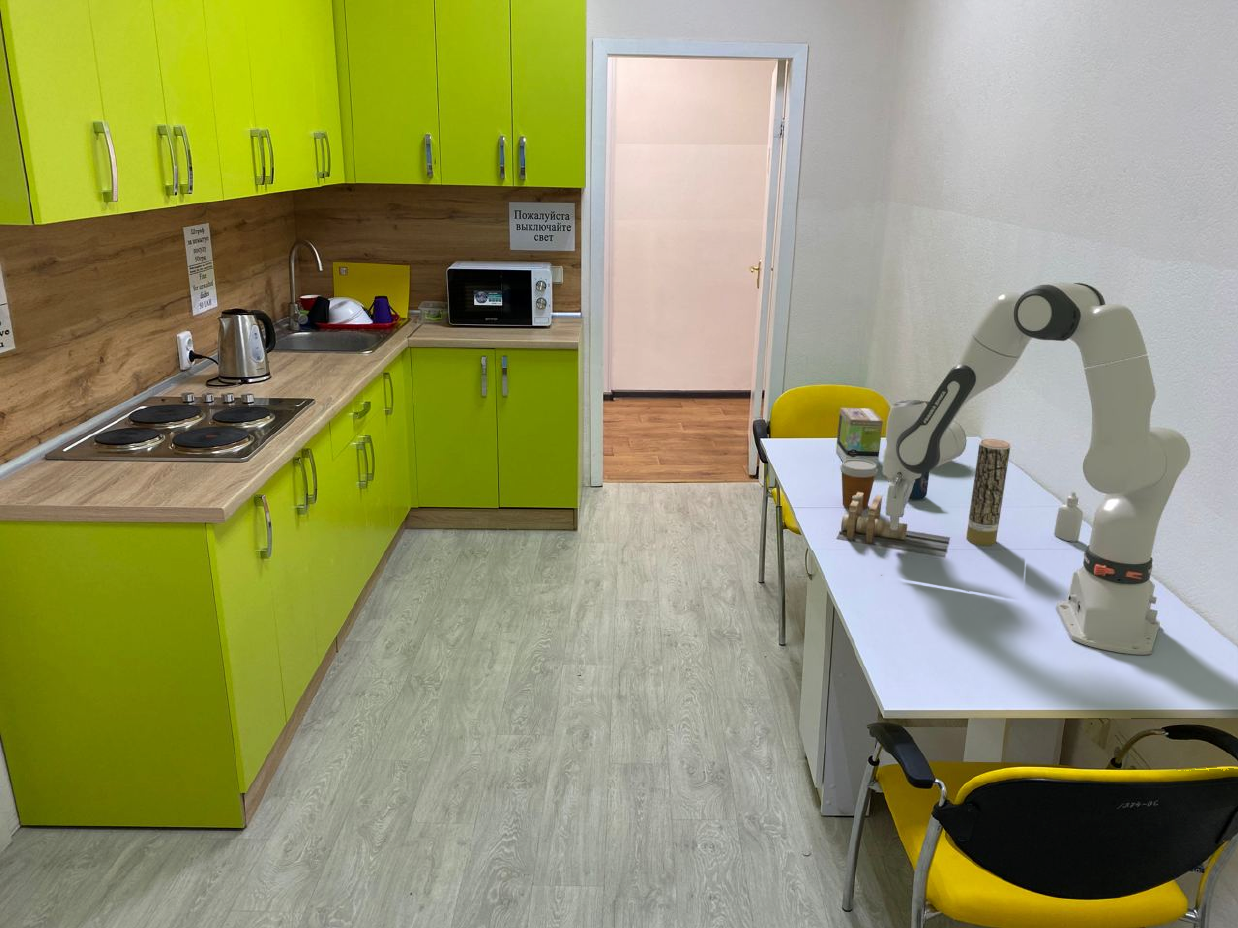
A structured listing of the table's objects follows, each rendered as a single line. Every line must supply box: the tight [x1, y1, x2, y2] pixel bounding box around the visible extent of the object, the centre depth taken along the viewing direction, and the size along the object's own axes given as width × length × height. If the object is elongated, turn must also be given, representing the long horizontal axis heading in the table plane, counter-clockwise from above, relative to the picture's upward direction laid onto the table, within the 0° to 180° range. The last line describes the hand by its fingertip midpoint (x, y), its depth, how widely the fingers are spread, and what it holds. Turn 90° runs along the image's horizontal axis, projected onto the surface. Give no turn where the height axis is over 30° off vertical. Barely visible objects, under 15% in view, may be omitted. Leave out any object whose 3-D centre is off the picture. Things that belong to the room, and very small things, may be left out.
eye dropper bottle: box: [1053, 491, 1084, 543], centre depth 232 cm, size 4×6×12 cm
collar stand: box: [835, 492, 951, 558], centre depth 229 cm, size 13×25×10 cm, turn 67°
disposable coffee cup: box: [839, 459, 879, 510], centre depth 250 cm, size 10×10×12 cm
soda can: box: [908, 470, 931, 501], centre depth 258 cm, size 7×7×12 cm
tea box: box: [835, 407, 884, 468], centre depth 289 cm, size 15×10×15 cm, turn 179°
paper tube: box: [965, 438, 1011, 547], centre depth 227 cm, size 7×7×25 cm
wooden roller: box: [840, 514, 908, 541], centre depth 232 cm, size 15×4×4 cm, turn 67°
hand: (896, 522), depth 229 cm, fingers open, 8 cm apart
